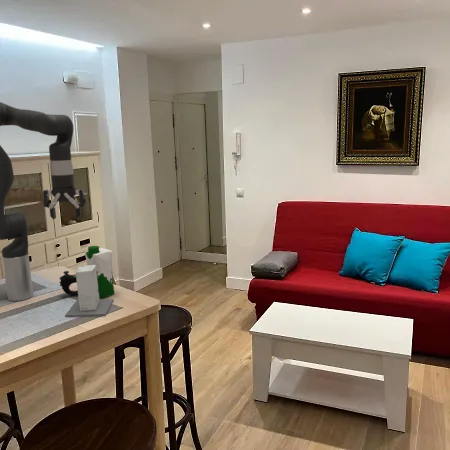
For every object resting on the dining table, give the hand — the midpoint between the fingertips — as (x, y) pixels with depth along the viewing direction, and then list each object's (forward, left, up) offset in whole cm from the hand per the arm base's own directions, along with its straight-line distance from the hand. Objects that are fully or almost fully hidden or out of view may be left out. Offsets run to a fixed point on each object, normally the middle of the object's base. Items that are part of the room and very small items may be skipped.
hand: (66, 218), depth 163 cm
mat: (+4, +7, -33) cm, 34 cm away
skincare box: (+4, +7, -32) cm, 33 cm away
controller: (-11, -2, -33) cm, 35 cm away
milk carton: (-10, +8, -33) cm, 36 cm away
